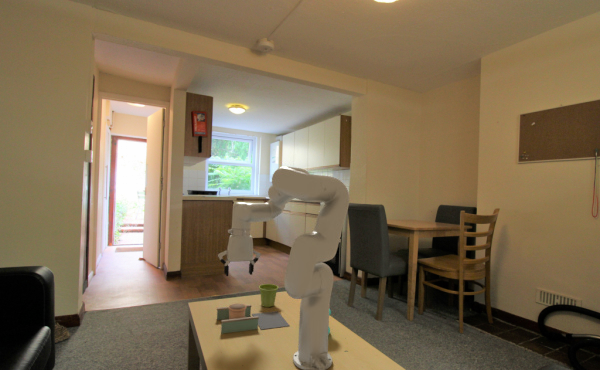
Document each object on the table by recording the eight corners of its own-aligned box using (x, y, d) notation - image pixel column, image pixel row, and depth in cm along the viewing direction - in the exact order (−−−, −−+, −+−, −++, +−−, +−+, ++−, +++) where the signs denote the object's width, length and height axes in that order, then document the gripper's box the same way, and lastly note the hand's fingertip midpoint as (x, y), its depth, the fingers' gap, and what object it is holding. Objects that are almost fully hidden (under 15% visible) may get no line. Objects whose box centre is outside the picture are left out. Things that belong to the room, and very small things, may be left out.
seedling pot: (247, 326, 124) (248, 308, 124) (229, 328, 122) (230, 310, 122) (243, 319, 131) (244, 302, 131) (226, 321, 128) (227, 304, 128)
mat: (289, 326, 126) (289, 325, 126) (260, 329, 122) (260, 329, 122) (277, 311, 141) (277, 311, 141) (251, 314, 137) (251, 313, 137)
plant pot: (279, 302, 153) (279, 284, 153) (275, 309, 144) (276, 290, 144) (260, 300, 154) (261, 283, 154) (255, 307, 145) (256, 289, 145)
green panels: (258, 329, 122) (258, 317, 122) (221, 333, 117) (221, 321, 117) (250, 315, 136) (250, 304, 136) (216, 318, 130) (216, 307, 130)
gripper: (220, 234, 121) (218, 278, 120) (263, 233, 127) (261, 275, 127) (218, 231, 127) (215, 273, 127) (259, 231, 134) (257, 271, 134)
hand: (238, 274), depth 127 cm, fingers open, 9 cm apart
